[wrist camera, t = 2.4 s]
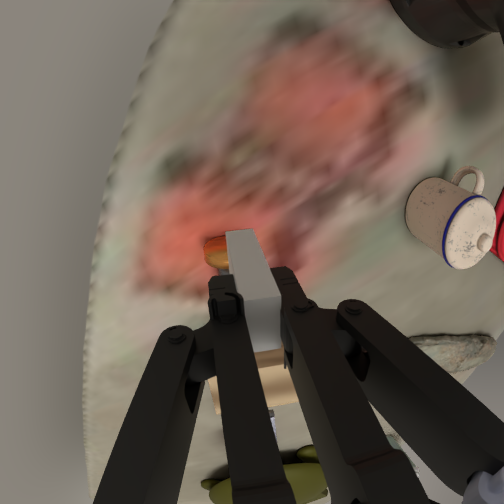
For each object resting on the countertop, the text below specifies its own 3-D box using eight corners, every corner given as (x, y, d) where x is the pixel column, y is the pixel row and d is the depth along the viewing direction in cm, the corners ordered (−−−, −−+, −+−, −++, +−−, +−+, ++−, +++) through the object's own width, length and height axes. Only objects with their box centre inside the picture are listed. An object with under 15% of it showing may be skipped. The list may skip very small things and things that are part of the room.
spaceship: (345, 469, 73) (355, 496, 64) (252, 502, 76) (257, 528, 67) (303, 430, 57) (316, 470, 48) (181, 472, 59) (183, 507, 51)
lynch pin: (203, 238, 34) (204, 260, 30) (250, 232, 35) (259, 254, 30) (216, 331, 40) (219, 359, 36) (256, 326, 41) (263, 353, 36)
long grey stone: (397, 320, 48) (370, 362, 52) (410, 342, 43) (380, 383, 48) (500, 330, 55) (477, 361, 60) (511, 344, 50) (487, 376, 55)
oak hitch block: (204, 329, 40) (207, 375, 33) (296, 316, 41) (314, 358, 34) (212, 370, 44) (216, 414, 37) (294, 358, 45) (310, 399, 38)
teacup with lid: (435, 245, 40) (487, 287, 30) (392, 229, 38) (447, 274, 28) (467, 170, 36) (528, 198, 26) (426, 143, 33) (494, 166, 23)
